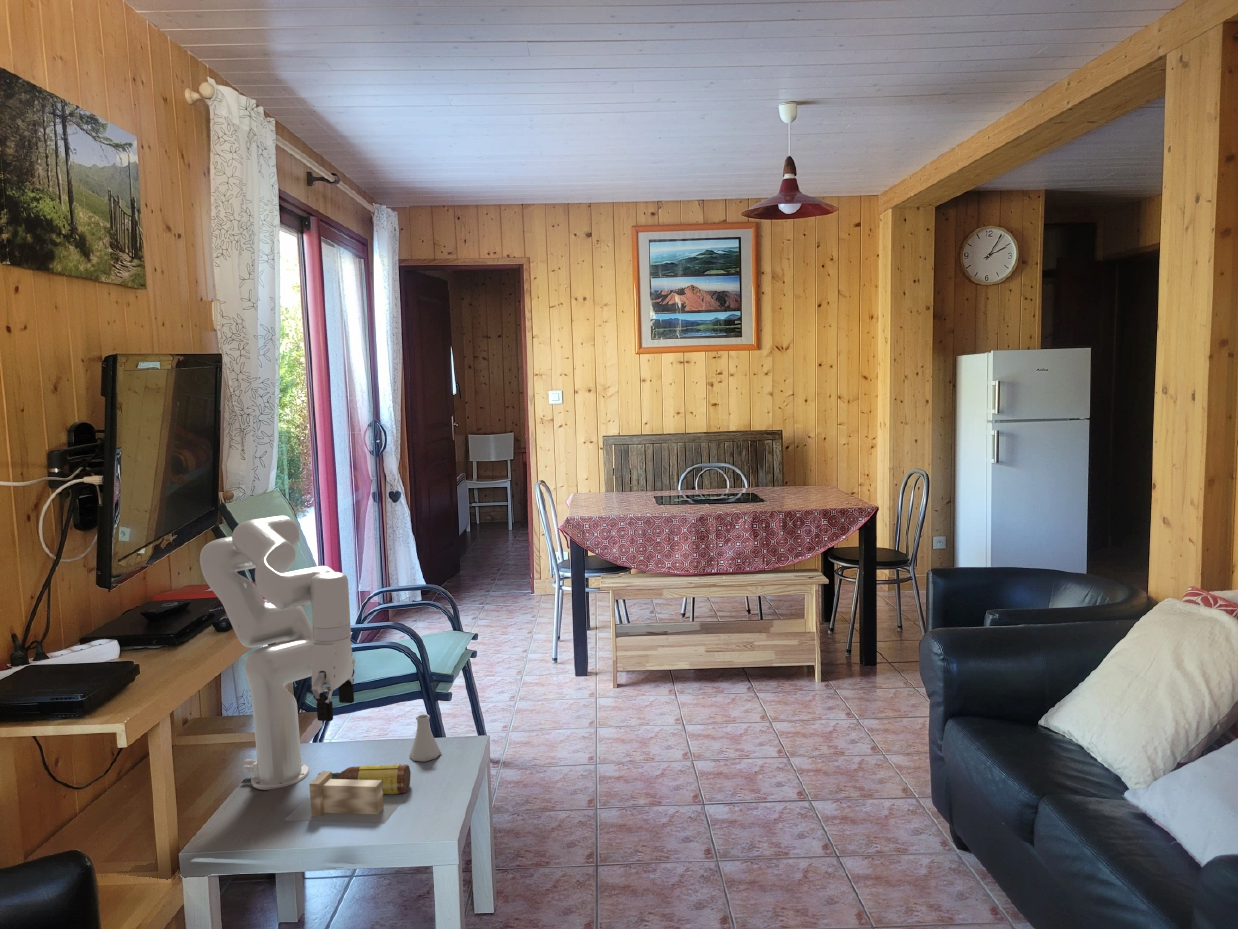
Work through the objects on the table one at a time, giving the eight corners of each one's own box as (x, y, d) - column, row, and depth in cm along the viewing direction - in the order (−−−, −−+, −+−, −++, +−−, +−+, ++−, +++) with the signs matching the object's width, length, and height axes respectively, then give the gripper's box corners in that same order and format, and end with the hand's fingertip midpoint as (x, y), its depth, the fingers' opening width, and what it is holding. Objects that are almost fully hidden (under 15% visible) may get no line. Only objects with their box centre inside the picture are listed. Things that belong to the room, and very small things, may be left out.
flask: (424, 765, 208) (421, 724, 207) (403, 758, 212) (401, 718, 211) (446, 754, 213) (444, 714, 213) (426, 747, 218) (423, 709, 217)
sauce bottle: (413, 778, 197) (327, 779, 198) (409, 758, 194) (321, 759, 195) (406, 801, 192) (317, 802, 192) (402, 781, 189) (311, 782, 189)
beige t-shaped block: (311, 816, 183) (309, 783, 182) (325, 802, 189) (322, 771, 188) (374, 818, 181) (372, 785, 180) (386, 804, 187) (384, 772, 186)
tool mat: (284, 823, 182) (284, 820, 182) (307, 800, 192) (307, 797, 191) (384, 826, 179) (384, 823, 178) (403, 803, 188) (403, 800, 188)
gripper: (334, 620, 191) (338, 695, 193) (294, 644, 174) (299, 727, 176) (366, 620, 190) (370, 696, 192) (329, 645, 173) (334, 728, 174)
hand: (336, 711), depth 184 cm, fingers open, 9 cm apart
